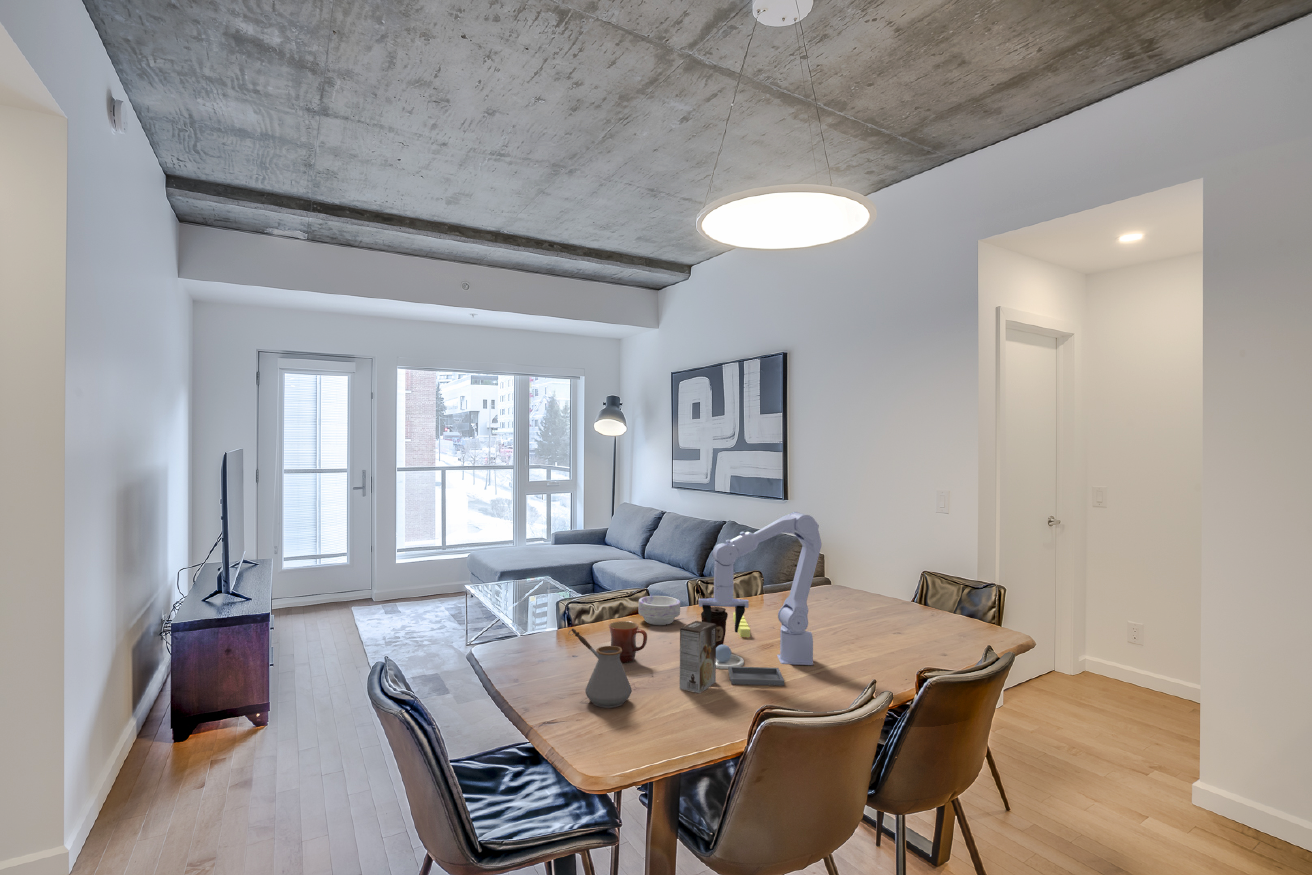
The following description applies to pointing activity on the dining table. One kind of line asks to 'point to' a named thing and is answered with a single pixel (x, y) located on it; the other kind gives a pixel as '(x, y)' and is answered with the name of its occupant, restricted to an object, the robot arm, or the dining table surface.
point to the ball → (723, 653)
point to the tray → (755, 676)
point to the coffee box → (697, 656)
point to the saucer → (730, 662)
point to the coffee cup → (718, 622)
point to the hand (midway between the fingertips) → (723, 631)
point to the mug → (626, 639)
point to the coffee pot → (607, 677)
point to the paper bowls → (659, 609)
